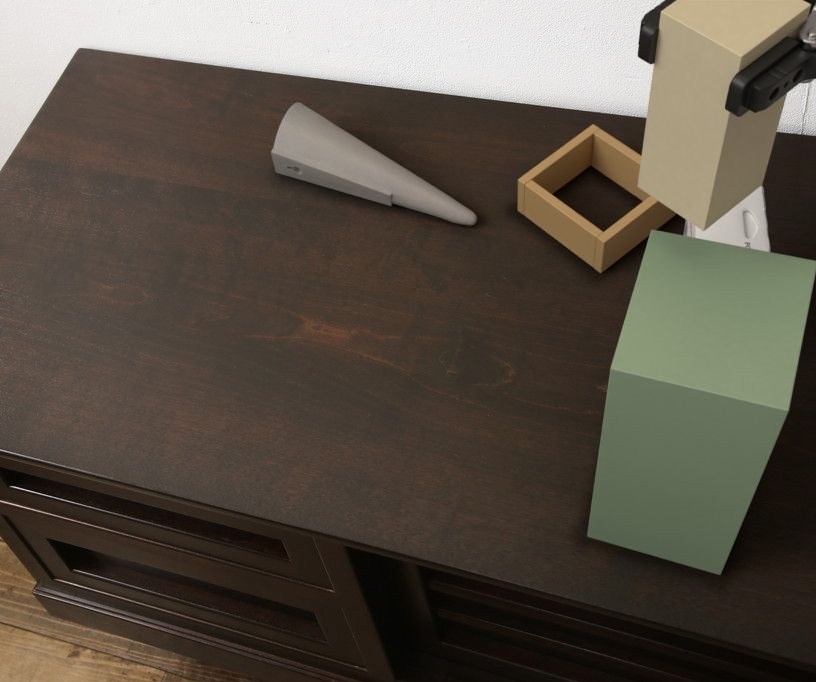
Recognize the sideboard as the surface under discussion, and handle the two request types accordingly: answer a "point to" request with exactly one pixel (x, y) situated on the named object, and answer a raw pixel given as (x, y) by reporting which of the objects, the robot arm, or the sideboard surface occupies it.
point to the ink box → (739, 225)
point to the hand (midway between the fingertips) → (689, 71)
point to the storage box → (571, 226)
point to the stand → (697, 396)
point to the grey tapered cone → (354, 167)
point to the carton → (710, 104)
